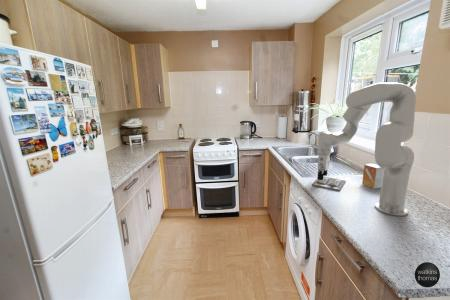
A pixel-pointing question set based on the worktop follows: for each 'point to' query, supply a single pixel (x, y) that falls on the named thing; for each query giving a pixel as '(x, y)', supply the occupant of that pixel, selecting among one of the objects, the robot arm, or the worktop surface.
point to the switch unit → (327, 184)
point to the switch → (333, 181)
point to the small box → (372, 175)
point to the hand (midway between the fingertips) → (322, 177)
